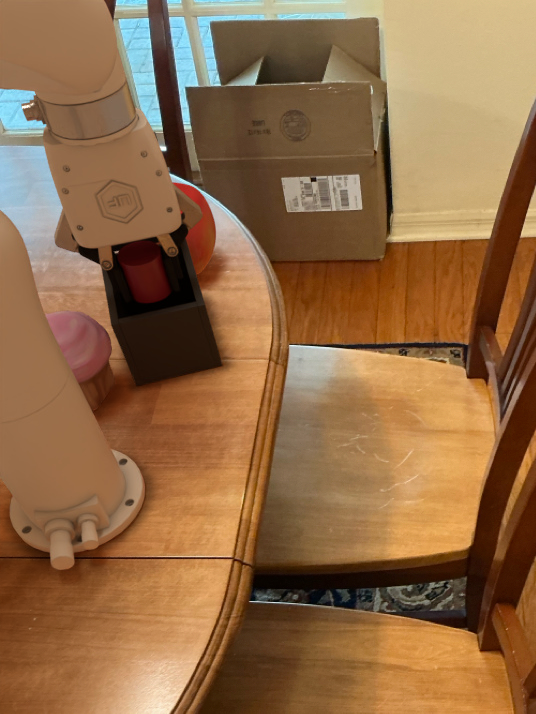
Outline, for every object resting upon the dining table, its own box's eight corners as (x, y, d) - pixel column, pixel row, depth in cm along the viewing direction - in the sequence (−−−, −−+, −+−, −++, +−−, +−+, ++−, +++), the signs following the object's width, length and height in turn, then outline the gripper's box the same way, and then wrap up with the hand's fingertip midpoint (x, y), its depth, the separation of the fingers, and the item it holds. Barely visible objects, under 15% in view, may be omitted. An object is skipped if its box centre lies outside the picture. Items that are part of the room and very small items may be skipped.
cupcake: (103, 432, 80) (67, 358, 72) (31, 417, 82) (-13, 343, 74) (143, 375, 85) (112, 300, 77) (74, 363, 87) (37, 288, 79)
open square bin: (222, 365, 86) (205, 304, 79) (136, 386, 84) (111, 325, 78) (203, 299, 93) (185, 238, 86) (123, 317, 91) (99, 256, 85)
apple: (185, 239, 101) (164, 164, 92) (241, 261, 97) (224, 185, 89) (133, 278, 96) (106, 203, 88) (190, 302, 93) (167, 227, 85)
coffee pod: (175, 297, 80) (163, 260, 76) (133, 307, 79) (119, 269, 75) (169, 274, 82) (157, 236, 79) (128, 283, 82) (114, 245, 78)
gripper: (-13, 146, 62) (72, 329, 77) (193, 109, 65) (237, 292, 80) (-14, 106, 67) (67, 286, 81) (180, 73, 69) (224, 253, 84)
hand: (150, 288), depth 80 cm, fingers closed on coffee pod, 4 cm apart
